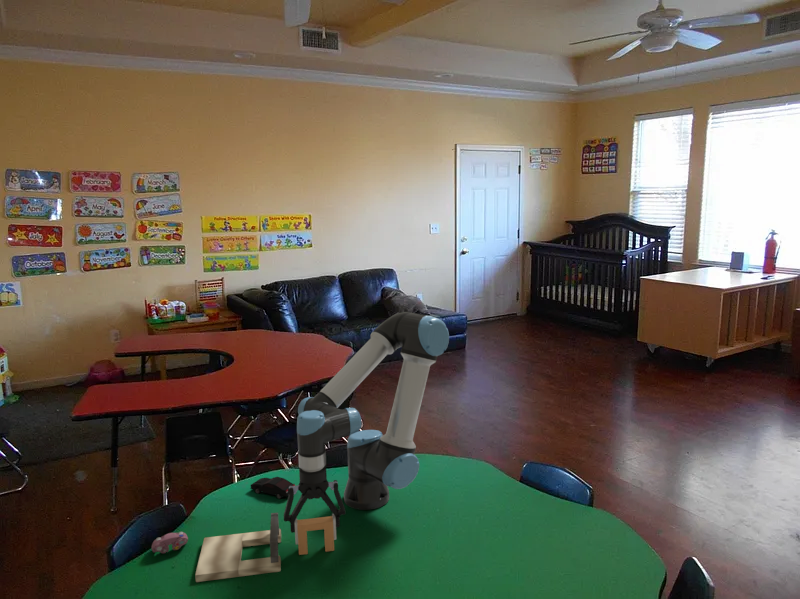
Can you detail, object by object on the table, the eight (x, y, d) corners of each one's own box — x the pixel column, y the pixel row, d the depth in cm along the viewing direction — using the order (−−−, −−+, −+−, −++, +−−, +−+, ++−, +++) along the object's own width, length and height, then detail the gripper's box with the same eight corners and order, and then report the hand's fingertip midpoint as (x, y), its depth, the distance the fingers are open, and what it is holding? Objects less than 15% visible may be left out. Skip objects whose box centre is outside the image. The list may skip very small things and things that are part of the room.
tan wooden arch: (333, 544, 173) (332, 516, 171) (334, 550, 170) (333, 521, 168) (298, 548, 171) (297, 520, 169) (298, 555, 168) (297, 525, 166)
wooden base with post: (281, 534, 178) (279, 510, 177) (280, 571, 161) (279, 544, 159) (204, 544, 174) (202, 518, 173) (195, 582, 157) (193, 554, 155)
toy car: (261, 484, 210) (260, 471, 210) (297, 493, 204) (297, 479, 203) (248, 493, 205) (248, 479, 204) (286, 502, 198) (285, 488, 197)
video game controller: (153, 561, 169) (152, 547, 165) (150, 547, 172) (150, 533, 168) (189, 551, 173) (189, 537, 169) (186, 538, 176) (186, 523, 173)
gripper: (351, 456, 172) (353, 527, 175) (271, 464, 168) (275, 536, 171) (354, 468, 164) (356, 541, 168) (270, 476, 160) (275, 551, 164)
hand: (315, 539), depth 170 cm, fingers closed on tan wooden arch, 10 cm apart
